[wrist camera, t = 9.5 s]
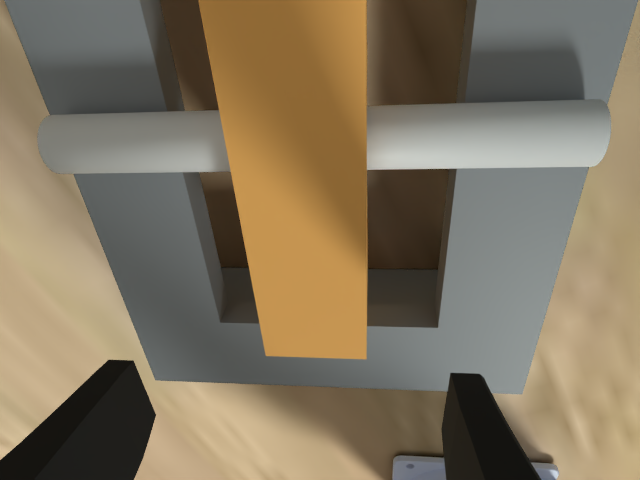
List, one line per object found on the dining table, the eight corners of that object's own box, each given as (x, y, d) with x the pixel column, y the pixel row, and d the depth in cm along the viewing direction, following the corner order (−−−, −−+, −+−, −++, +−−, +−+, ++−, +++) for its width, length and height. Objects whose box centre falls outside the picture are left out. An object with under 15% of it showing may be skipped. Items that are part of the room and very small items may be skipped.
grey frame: (679, -504, 9) (1008, -956, 4) (498, 321, 21) (533, 431, 17) (-27, -390, 11) (-334, -630, 6) (186, 314, 23) (140, 413, 18)
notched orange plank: (238, -150, 11) (163, -183, 7) (368, -162, 10) (365, -204, 7) (289, 257, 18) (265, 355, 14) (367, 258, 17) (366, 359, 13)
